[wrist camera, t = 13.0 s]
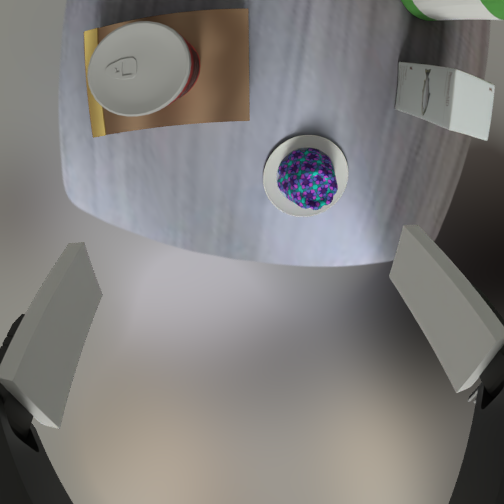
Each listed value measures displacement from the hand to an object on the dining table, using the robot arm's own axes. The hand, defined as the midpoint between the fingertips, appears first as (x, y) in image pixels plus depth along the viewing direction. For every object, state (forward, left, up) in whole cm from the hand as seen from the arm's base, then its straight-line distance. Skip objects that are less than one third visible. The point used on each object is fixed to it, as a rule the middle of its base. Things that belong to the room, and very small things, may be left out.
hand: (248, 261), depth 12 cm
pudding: (-10, +7, -29) cm, 32 cm away
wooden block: (+7, -8, -29) cm, 31 cm away
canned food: (+7, -8, -24) cm, 26 cm away
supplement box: (-26, -7, -29) cm, 39 cm away
